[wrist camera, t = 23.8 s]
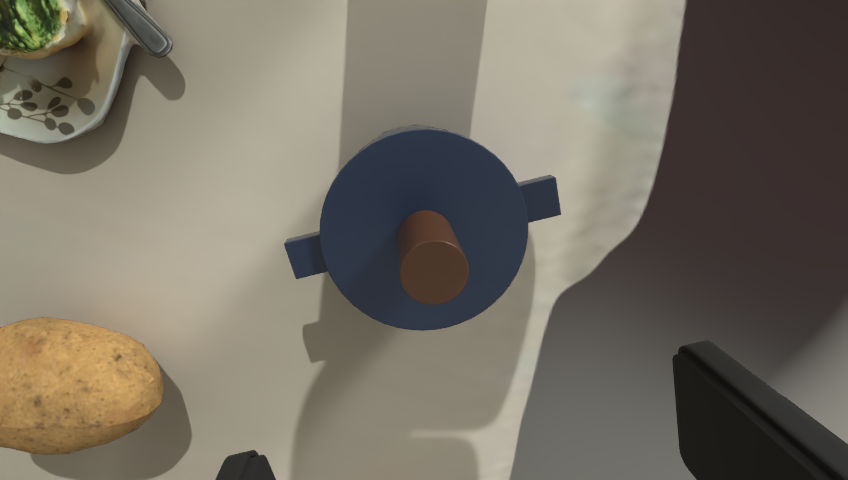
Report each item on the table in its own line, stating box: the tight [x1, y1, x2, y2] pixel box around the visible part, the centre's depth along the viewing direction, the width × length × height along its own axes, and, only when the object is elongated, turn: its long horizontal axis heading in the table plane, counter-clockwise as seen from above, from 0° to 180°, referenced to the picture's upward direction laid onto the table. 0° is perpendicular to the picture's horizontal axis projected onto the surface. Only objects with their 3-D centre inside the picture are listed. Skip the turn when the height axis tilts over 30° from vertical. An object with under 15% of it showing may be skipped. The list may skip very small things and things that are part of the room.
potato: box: [0, 317, 164, 454], centre depth 33 cm, size 10×14×8 cm
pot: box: [284, 125, 561, 279], centre depth 31 cm, size 11×17×8 cm
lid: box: [320, 129, 528, 330], centre depth 25 cm, size 12×12×7 cm
